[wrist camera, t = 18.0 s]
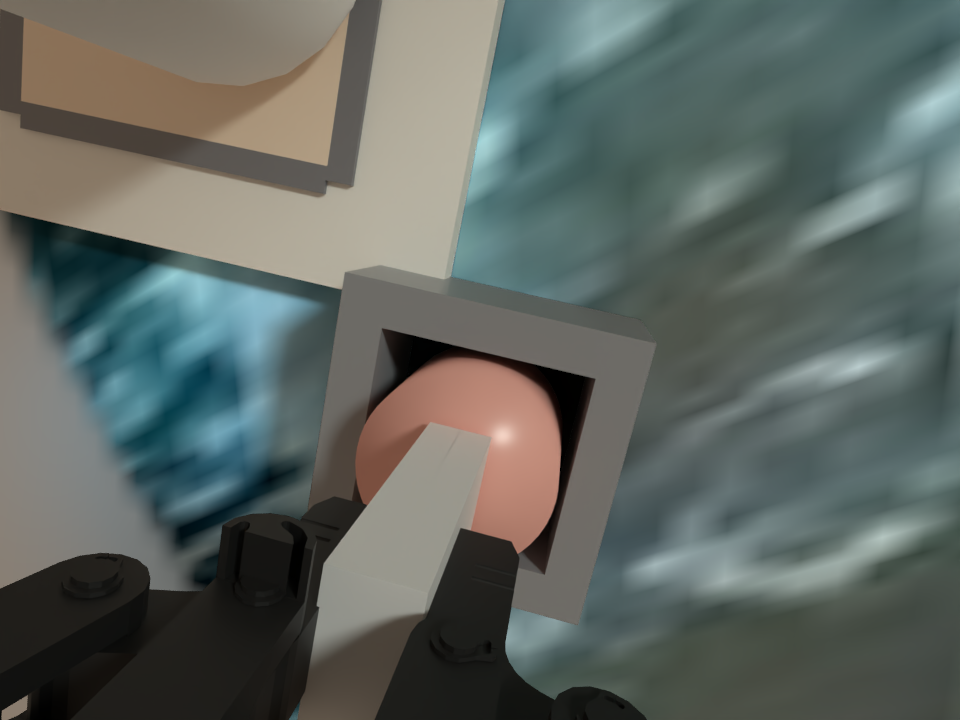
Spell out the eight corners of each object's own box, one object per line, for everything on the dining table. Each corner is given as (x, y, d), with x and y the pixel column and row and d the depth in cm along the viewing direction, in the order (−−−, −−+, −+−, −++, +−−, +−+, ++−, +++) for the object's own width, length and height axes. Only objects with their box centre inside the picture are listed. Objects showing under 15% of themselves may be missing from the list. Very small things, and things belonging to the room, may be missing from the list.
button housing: (389, 263, 20) (344, 272, 16) (641, 320, 19) (656, 343, 15) (350, 491, 22) (301, 548, 18) (577, 552, 21) (577, 625, 17)
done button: (415, 326, 19) (372, 352, 15) (580, 365, 18) (581, 402, 15) (386, 479, 20) (340, 539, 16) (541, 519, 20) (532, 592, 16)
